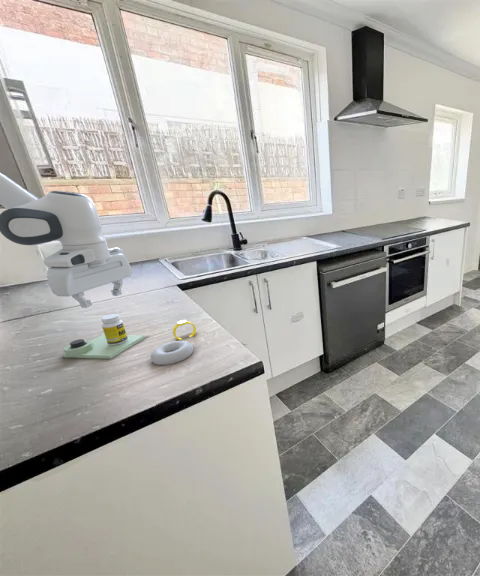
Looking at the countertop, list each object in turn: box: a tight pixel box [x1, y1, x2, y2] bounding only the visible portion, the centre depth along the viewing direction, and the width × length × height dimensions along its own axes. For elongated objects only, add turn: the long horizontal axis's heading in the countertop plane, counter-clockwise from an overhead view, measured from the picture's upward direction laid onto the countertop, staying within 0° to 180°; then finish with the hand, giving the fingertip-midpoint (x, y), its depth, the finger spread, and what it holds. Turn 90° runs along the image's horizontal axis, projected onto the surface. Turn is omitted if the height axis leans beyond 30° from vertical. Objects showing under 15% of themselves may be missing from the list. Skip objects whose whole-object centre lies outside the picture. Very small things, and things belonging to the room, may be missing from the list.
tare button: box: [69, 338, 86, 349], centre depth 88 cm, size 3×3×2 cm
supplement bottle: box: [101, 313, 128, 345], centre depth 92 cm, size 5×5×8 cm
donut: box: [150, 340, 194, 366], centre depth 86 cm, size 10×4×10 cm
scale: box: [63, 334, 146, 360], centre depth 92 cm, size 14×12×3 cm
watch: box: [172, 319, 197, 341], centre depth 96 cm, size 6×3×6 cm, turn 136°
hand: (102, 300), depth 88 cm, fingers open, 8 cm apart
